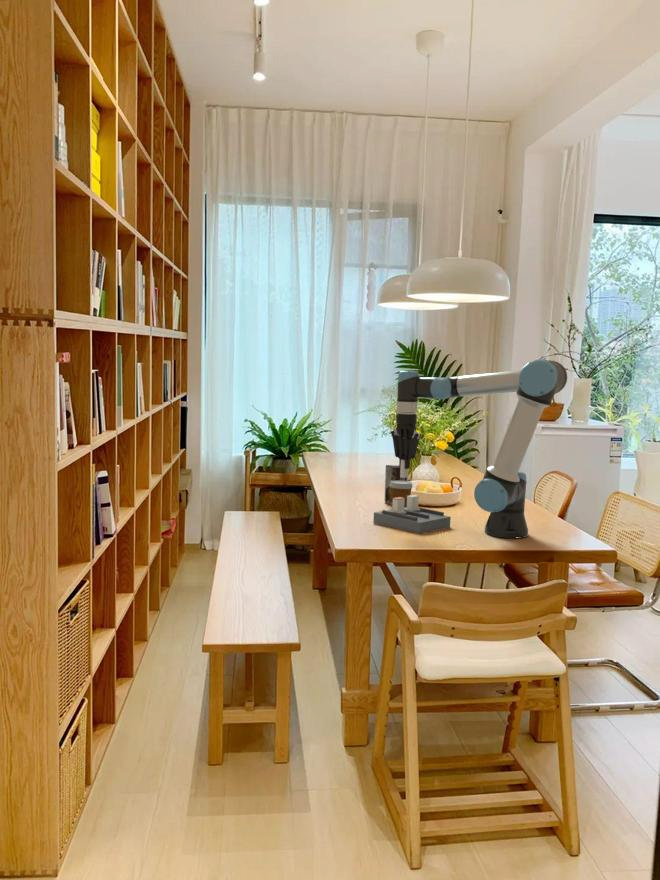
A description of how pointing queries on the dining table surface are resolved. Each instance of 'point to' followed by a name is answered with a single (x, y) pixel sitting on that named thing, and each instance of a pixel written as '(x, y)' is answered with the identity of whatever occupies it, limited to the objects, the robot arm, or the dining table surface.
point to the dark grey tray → (413, 518)
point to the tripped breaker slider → (398, 505)
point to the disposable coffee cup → (400, 490)
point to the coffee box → (391, 475)
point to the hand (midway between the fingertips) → (404, 477)
